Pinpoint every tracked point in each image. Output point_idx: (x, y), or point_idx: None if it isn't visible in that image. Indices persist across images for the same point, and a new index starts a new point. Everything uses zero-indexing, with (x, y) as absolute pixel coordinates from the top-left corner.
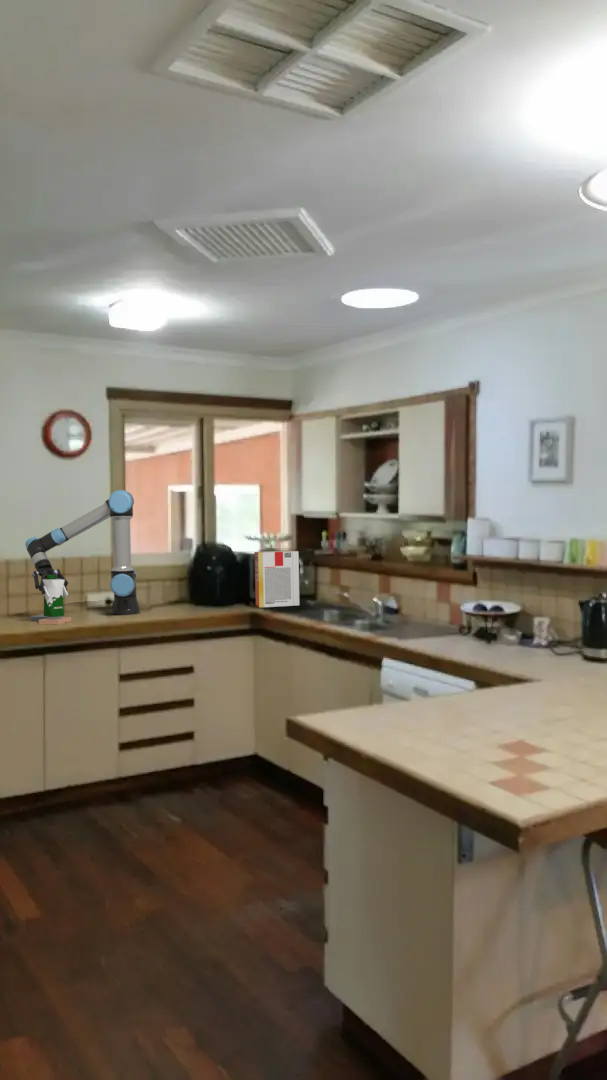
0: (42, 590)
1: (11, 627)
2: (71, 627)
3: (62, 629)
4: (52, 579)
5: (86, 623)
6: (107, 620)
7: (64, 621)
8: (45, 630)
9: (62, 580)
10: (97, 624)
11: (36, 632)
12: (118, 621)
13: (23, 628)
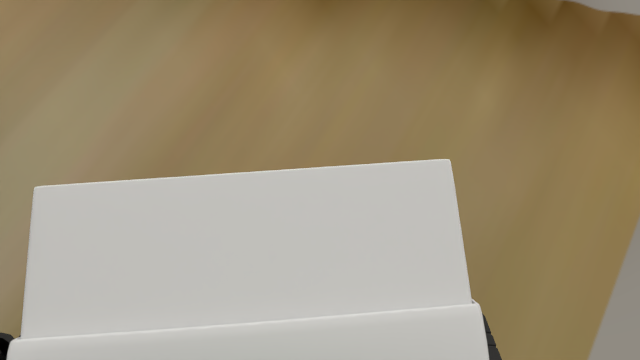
0: (490, 335)
1: (578, 330)
2: (349, 31)
3: (418, 11)
4: (331, 348)
5: (203, 91)
6: (48, 93)
7: None
8: (494, 52)
9: (125, 181)
10: (196, 9)
11: (556, 32)
12: (50, 7)
13: (544, 222)
